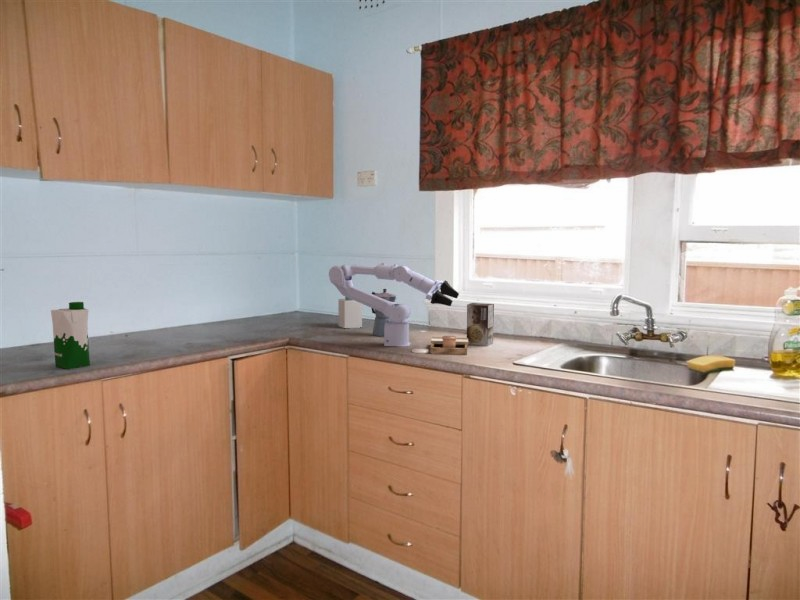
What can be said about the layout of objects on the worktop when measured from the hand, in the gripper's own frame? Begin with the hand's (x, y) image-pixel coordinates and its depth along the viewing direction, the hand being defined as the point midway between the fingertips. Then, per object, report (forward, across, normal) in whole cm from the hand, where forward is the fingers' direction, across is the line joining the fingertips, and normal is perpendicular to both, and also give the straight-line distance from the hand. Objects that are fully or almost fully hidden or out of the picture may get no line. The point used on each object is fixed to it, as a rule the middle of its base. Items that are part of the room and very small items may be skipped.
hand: (454, 299), depth 203 cm
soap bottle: (-43, +20, +49) cm, 68 cm away
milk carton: (-92, -83, +38) cm, 130 cm away
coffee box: (+15, +6, +16) cm, 23 cm away
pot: (+7, -13, +13) cm, 20 cm away
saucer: (-2, -17, +16) cm, 24 cm away
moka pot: (-24, +8, +36) cm, 44 cm away
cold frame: (+7, -10, +15) cm, 19 cm away
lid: (+5, -5, +14) cm, 16 cm away
